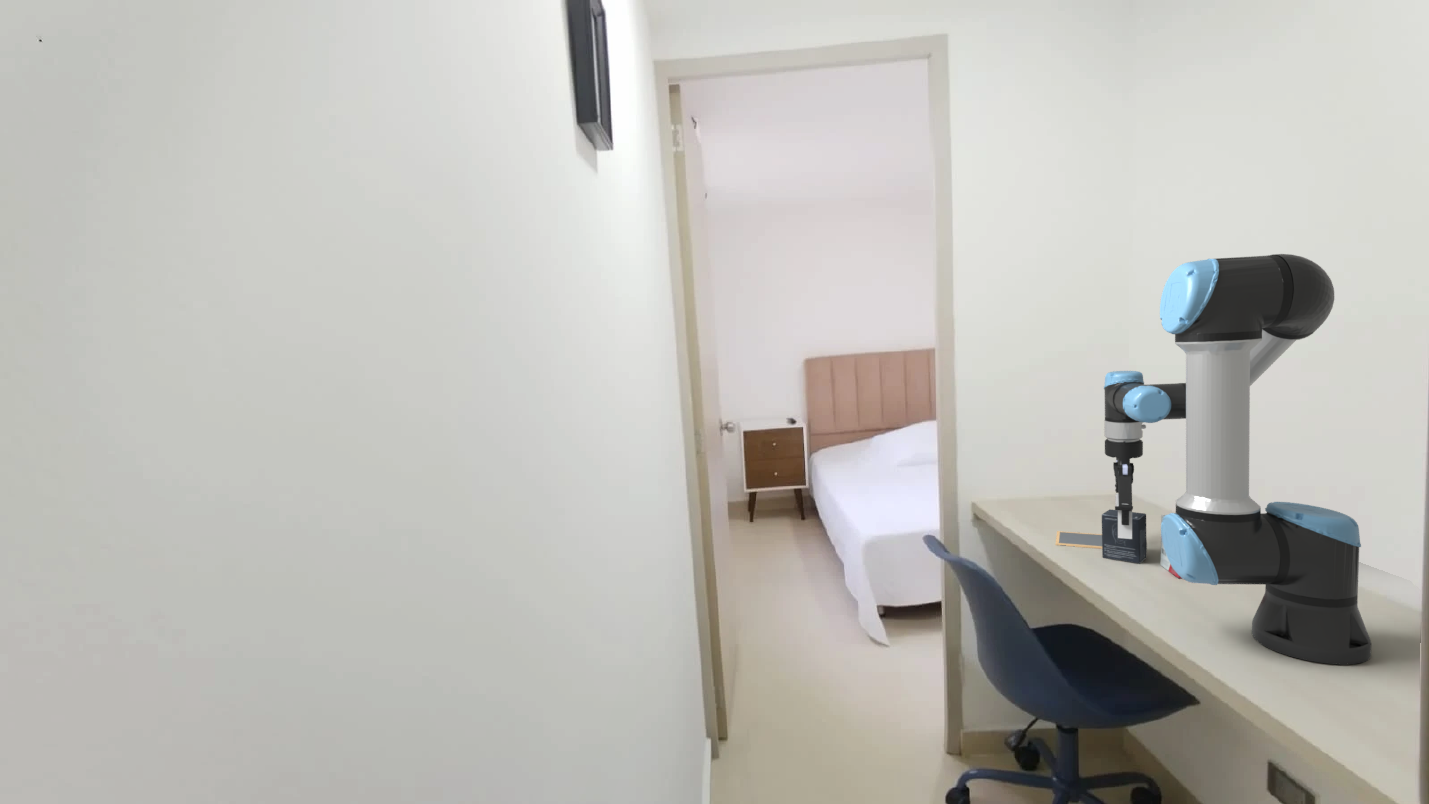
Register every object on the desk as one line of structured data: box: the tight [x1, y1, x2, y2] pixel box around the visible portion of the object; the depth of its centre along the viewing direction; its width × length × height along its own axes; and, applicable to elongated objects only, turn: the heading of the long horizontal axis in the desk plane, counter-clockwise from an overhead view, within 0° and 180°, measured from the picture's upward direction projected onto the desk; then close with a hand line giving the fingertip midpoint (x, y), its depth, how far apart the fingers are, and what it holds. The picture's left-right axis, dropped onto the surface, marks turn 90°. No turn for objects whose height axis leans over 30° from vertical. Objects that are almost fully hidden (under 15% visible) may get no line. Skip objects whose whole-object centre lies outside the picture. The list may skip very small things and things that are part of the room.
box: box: [1101, 509, 1148, 564], centre depth 161 cm, size 8×6×11 cm
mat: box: [1055, 530, 1102, 550], centre depth 175 cm, size 11×11×1 cm
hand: (1123, 529), depth 161 cm, fingers open, 13 cm apart
